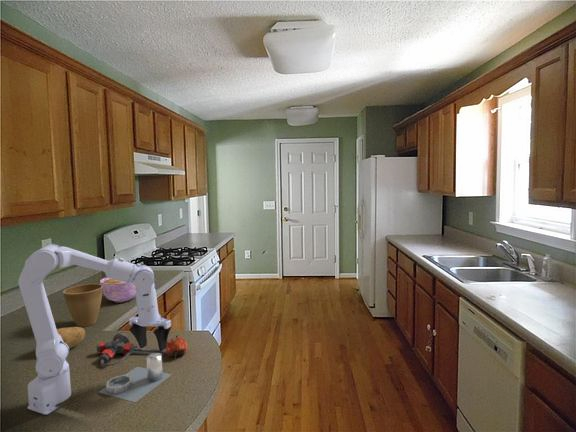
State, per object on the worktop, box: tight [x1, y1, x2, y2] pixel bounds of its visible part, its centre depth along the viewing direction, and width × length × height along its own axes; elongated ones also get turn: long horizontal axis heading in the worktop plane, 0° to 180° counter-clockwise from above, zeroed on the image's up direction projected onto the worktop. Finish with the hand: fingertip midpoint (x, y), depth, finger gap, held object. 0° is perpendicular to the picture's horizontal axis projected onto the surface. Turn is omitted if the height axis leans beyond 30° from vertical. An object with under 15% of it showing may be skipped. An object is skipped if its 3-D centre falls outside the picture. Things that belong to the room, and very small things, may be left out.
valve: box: [96, 332, 167, 368], centre depth 123 cm, size 6×26×15 cm
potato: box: [56, 326, 86, 350], centre depth 130 cm, size 10×14×8 cm
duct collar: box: [105, 374, 132, 395], centre depth 104 cm, size 7×7×2 cm
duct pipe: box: [146, 353, 164, 382], centre depth 108 cm, size 5×4×7 cm
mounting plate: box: [98, 366, 172, 403], centre depth 106 cm, size 15×14×1 cm
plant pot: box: [62, 283, 103, 328], centre depth 154 cm, size 15×15×16 cm
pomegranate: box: [164, 335, 188, 360], centre depth 123 cm, size 7×7×10 cm
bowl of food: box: [99, 276, 136, 303], centre depth 185 cm, size 20×20×12 cm
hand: (153, 348), depth 108 cm, fingers open, 7 cm apart
